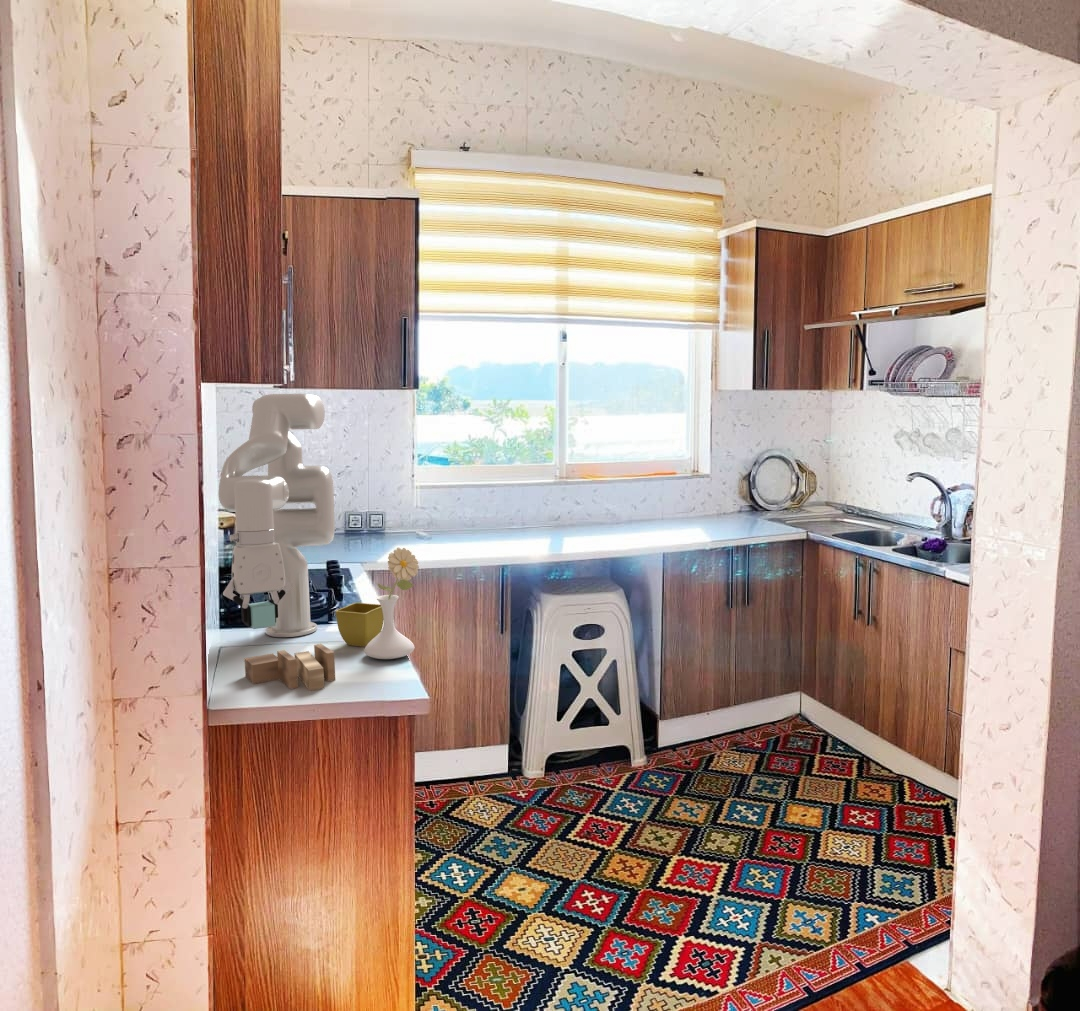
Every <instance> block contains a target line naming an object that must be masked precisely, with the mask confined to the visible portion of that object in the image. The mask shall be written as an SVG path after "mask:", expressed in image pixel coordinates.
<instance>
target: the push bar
mask: <svg viewBox="0 0 1080 1011" xmlns="http://www.w3.org/2000/svg"><path fill="white" fill-rule="evenodd" d="M294 658H296V661H297V677H299V680H300V681H301V682H302V683H303V685H304V686H305V685H306V686H305V687H306V688H307V689H308V691H309V692H310V690H312V691H316V690H315V689H318V690H321V689H320V688H324V689H325V678H324V668H323V667H322V666H321V665H320V664H319V662H318V661H317V660H316V659H315V656H314V655H313V654H312V653H311V652H310V651H309V650H307V651H299V652H295V653H294Z"/></svg>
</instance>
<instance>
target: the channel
mask: <svg viewBox="0 0 1080 1011" xmlns="http://www.w3.org/2000/svg"><path fill="white" fill-rule="evenodd" d="M313 647H314V650H313V651H314V658H315V659H316V660H317V661H318V662H319V664H320V665H321V666H322V667H323V668H324V680H326V681H327V680H328V681H327V682H331V680H333V681H336V662H335V660H336V659H335V652H334V651H333V650H331V649H330V648H329V647H326V646H325V645H324V644H322V643H318V644H314V645H313ZM276 654H277V655H276V656H277V658H278V677H279V679H278V680H279V681H280V682H282V683H283V684H284V685H285V686H286V687H287V688H289V689H292V690H293V689H297V688H299V685H298V683H299V682H298V675H297V661H296V658H295V656H293V655H292V654H290V653H289V652H288V651H286V650H284V649H283V650H278V651H277V652H276Z"/></svg>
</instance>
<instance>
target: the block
mask: <svg viewBox="0 0 1080 1011" xmlns="http://www.w3.org/2000/svg"><path fill="white" fill-rule="evenodd" d="M249 608H250V609H251V624H252V626H251V627H250V628H251V629H253V630H257V629H262V628H265V629H266V628H267V627H271V626H276V624H275V605H274V604H272V603H270V600H266V601H261V602H260V601H259V602H252V603H249Z"/></svg>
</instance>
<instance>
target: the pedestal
mask: <svg viewBox="0 0 1080 1011" xmlns="http://www.w3.org/2000/svg"><path fill="white" fill-rule="evenodd" d="M244 672H245V673H244V674H245V678H246V679H248V680H249V681H250V682H251V683H252V684H253V685H254V684H259V683H264V682H266V683H267V682H269V681H270V682H271V681H276V680H279V677H278V658H277V655H276V654H274V653H269V654H268V653H267V654H263V655H257V656H250V657H245V658H244Z"/></svg>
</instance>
